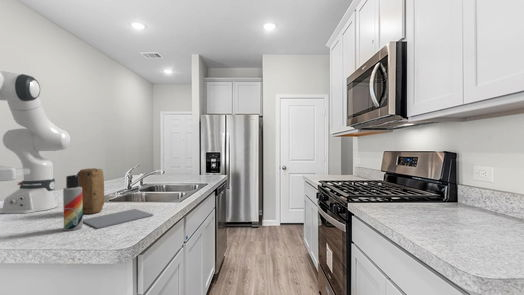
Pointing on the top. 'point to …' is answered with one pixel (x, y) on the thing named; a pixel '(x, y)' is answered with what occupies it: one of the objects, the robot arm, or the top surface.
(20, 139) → the robot arm
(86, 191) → the block
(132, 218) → the mat
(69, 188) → the lotion bottle
